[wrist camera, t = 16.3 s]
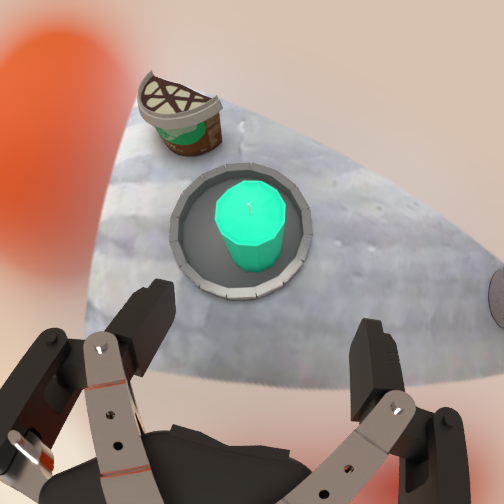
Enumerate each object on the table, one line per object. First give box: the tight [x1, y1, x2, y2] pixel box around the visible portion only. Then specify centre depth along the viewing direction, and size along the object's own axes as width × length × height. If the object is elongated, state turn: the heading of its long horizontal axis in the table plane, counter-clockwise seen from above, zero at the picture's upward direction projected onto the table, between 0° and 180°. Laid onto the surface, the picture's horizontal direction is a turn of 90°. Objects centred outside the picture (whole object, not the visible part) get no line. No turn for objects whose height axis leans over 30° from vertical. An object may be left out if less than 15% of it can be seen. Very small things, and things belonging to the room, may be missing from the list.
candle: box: [215, 180, 286, 273], centre depth 30 cm, size 6×6×12 cm
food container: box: [137, 71, 223, 156], centre depth 36 cm, size 12×6×10 cm, turn 55°
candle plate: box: [169, 163, 313, 300], centre depth 35 cm, size 16×16×3 cm
